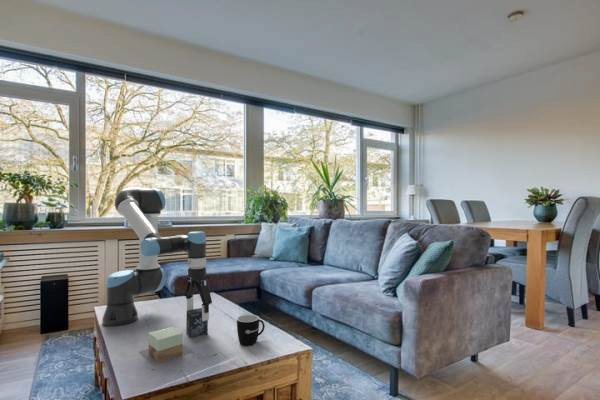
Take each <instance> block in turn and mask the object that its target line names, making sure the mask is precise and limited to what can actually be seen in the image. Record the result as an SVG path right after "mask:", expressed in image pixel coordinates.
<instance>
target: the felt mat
mask: <svg viewBox="0 0 600 400" xmlns="http://www.w3.org/2000/svg"><path fill="white" fill-rule="evenodd" d="M192 353H194V351H193V350H192V349H190V348H188V347H187V346H185V345H184V344H183V354H182V355H179V356H176V357H173V358H170V359H167V360H165V361H162V362H159V363H158V362H157V361H156V360H155V359H153V358H152V357H151V356H150V355H149V348H147V349H142V350H140V351H138V354H140V355H141V356H142V358H144V359H146V361H148V362H149V363H150V364H151V365H152V366H156V365H159V364H163V363H166V362H168V361H171V360H174V359H175V360H176V359H177V358H180V357H183V356H186V355H189V354H192Z"/></svg>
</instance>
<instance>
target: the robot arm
mask: <svg viewBox="0 0 600 400" xmlns="http://www.w3.org/2000/svg"><path fill="white" fill-rule="evenodd" d="M166 202H167V201H166V197H165V193H163V191H162V190H161V189H159V188H154V187H126V188H124V189H122V190H120V191H119V192H118V193H117V195H116V197H115V199H114V207H115V210H116V211H117V212H118V215H120V216H122V217H124V219H125V220H126V221H127V222H128V224H129V225H130V227H131V228H132V230H133V231H134V232H135V234H136V235H137V237H138V238H139V241H138V242H139V244H138V245H139V246H138V249H139V250H138V252H139V255H138V256H139V257H138V259H139V260H138V261H139V262H138V263H139V264H138V265H137V266H135V272H134V270H132V269H125V270H119V271H116V272H113V273H111V274H109V275H108V277H107V279H106V284H105V285H106V307H105V310H104V313H103V316H102V325H103V326H106V327H116V326H118V327H120V326H124V325H129V324H131V323H133V322H135V321H137V320H138V318H139V313H138V310H137V308H136V305H135V297H136V296H143V295H146V294H153V293H155V292H159V291H160V290H162V289H163V288H164V286H165V283H166V273H165V270H164V269H163V268H162V266H161V265H160V264H159V263H158V256H164V255H171V254H177V253H178V254H179V253H187V267H188V269H187V278H186V285H185V288H184V293H183V297H185V298H186V311H187V310H193V309H194V294H195V292H198V294H199V297H200V300H201V302H202V304H201V308H202V321H206V320H208V321H209V319H210V310H209V309H210V307H209V306H210V305H211V304H213V301H212V300H213V299H212V297H211V293H210V288H209V281H208V279H204V278H205V277H206V276H207V267H206V266H207V238H206V232H205V231H189V232H188V233H187V235H186V234H185V235H184V234H177V235H173V236H162V235H161V233H159V232H158V223H159V222H158V217H159V216H160V215H161V214H162V213H161V212H162V211H163V210H164V209H165V207H166V204H167V203H166Z"/></svg>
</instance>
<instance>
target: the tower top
mask: <svg viewBox="0 0 600 400" xmlns="http://www.w3.org/2000/svg"><path fill="white" fill-rule="evenodd" d="M183 335H184V334H183V332H182V331H180V330H178V329H177V328H175V327H173V326H170V327H169V326H168V327H166V328H162V329H158V330H156V331H150V332H148V345H149V344H150V345H151V346H152V347H153V348H155V349H156V350H157V351H161V350H164V349H167V348H171V347H174V346H177V345H180V344H183V341H184V340H183ZM183 345H184V344H183Z"/></svg>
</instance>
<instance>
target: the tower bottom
mask: <svg viewBox="0 0 600 400" xmlns="http://www.w3.org/2000/svg"><path fill="white" fill-rule="evenodd" d="M183 345H184V344H180V345H177V346H174V347H171V348H167V349H164V350H161V351H157V350H156V349H155V348H153V347H152V346H151V345H150V344H149V343H148V349H149V355H150V356H151V357H152V358H153V359H155V360H156V361H157V362H158V363H159V362H162V361H165V360H167V359H170V358H173V357H176V356H179V355H182V354H183Z"/></svg>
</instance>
